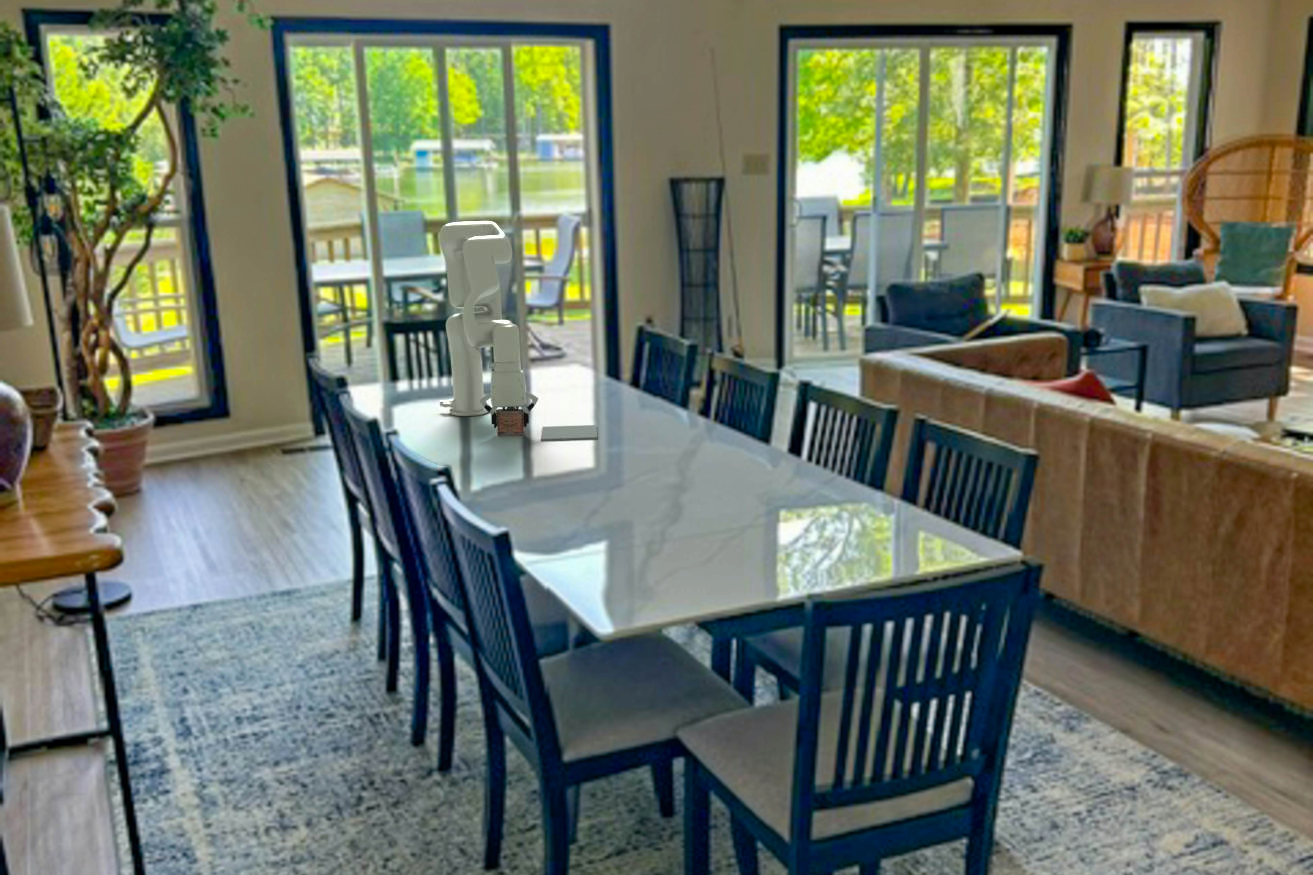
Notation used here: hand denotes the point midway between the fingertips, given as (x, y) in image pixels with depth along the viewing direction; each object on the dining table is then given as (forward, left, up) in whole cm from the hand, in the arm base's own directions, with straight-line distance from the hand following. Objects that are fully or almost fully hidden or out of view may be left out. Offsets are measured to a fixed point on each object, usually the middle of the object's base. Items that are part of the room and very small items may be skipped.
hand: (510, 426), depth 328 cm
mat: (+17, -1, -3) cm, 17 cm away
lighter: (0, 0, -3) cm, 3 cm away
